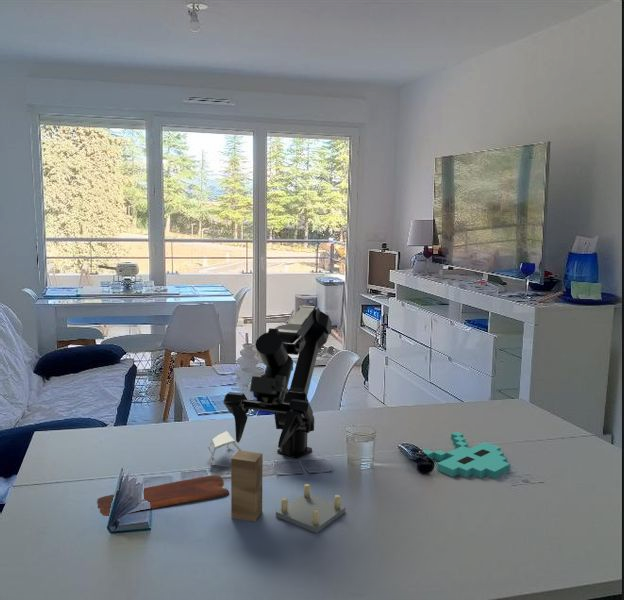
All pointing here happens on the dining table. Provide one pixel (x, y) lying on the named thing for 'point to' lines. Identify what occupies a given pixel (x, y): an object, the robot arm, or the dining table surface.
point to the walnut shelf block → (246, 485)
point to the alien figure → (470, 459)
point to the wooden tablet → (176, 493)
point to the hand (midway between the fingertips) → (258, 444)
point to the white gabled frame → (222, 443)
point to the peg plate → (310, 511)
